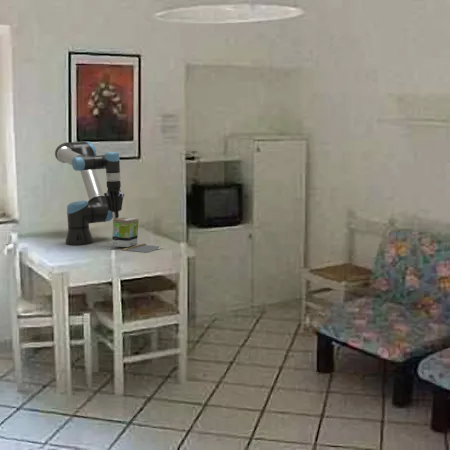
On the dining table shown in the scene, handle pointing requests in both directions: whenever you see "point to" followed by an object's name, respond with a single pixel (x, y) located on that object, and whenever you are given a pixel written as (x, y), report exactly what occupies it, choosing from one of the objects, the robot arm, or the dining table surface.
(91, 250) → the dining table surface
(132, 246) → the oak strip
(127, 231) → the tea box
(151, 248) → the mat
